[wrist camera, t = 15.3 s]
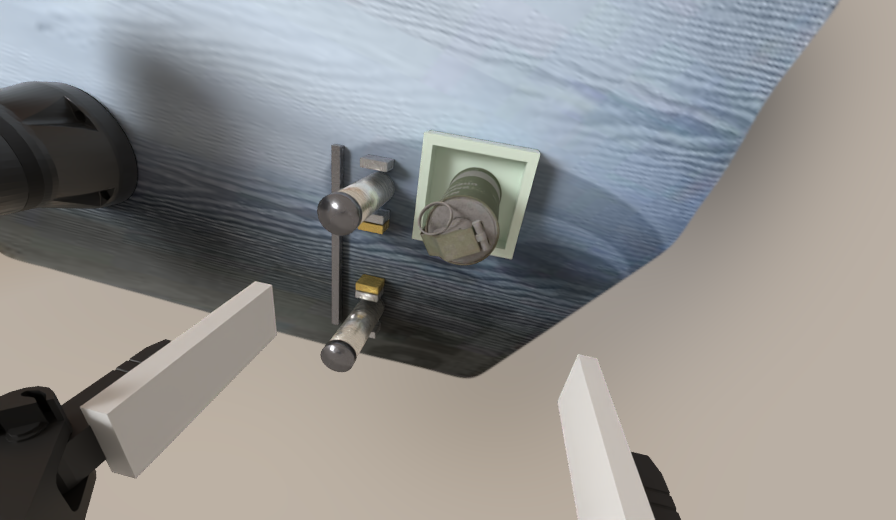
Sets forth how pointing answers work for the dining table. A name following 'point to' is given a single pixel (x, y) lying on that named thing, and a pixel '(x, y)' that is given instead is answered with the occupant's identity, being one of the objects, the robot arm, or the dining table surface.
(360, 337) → the fuse rail
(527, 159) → the tray
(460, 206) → the grenade
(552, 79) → the dining table surface
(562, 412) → the robot arm
